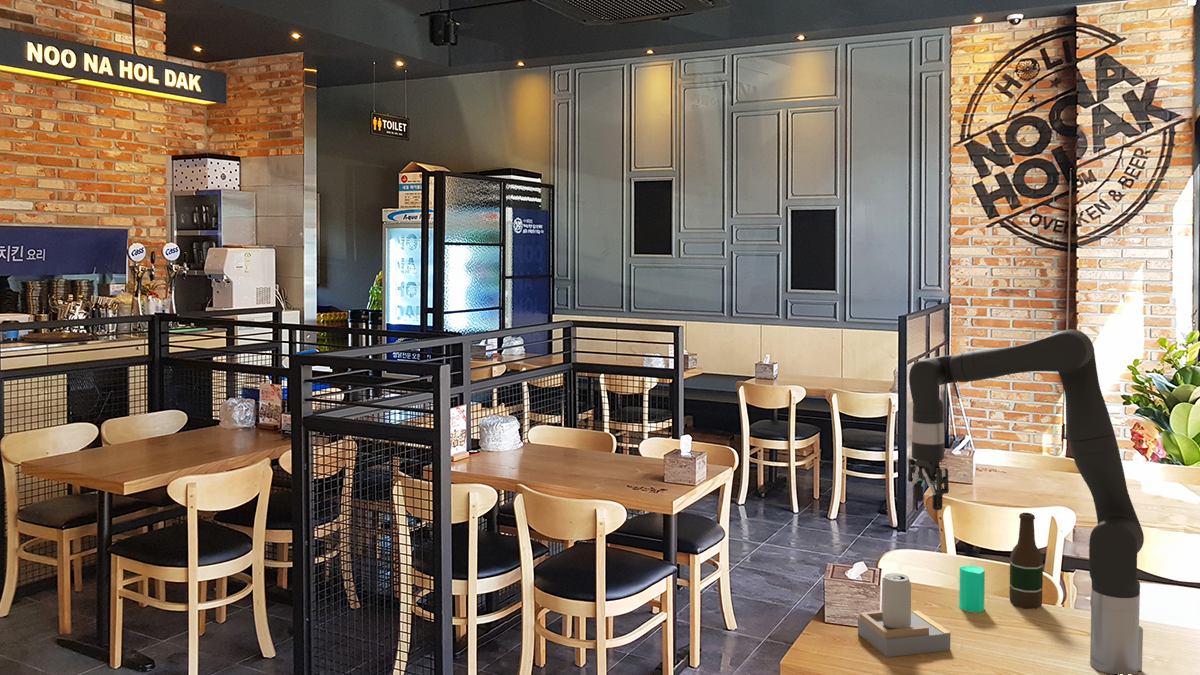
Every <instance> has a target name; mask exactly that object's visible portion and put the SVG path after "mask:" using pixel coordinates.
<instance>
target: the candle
mask: <svg viewBox="0 0 1200 675" xmlns="http://www.w3.org/2000/svg"><path fill="white" fill-rule="evenodd" d="M985 573H986V572H985V569H984V568H983V567H982V566H978V565H974V563H973V562H972V563H971V565H961V566H959V594H958V595H959V596H958V599H959V600H958V601H959V604H958V605H959V609H961V610H962V609H963V610H962V611H964V610H965V612H968V611H970V612H969V613H981V611H982V612H984V610H985V584H986V583H985V581H986V579H985V576H986V574H985Z"/></svg>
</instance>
